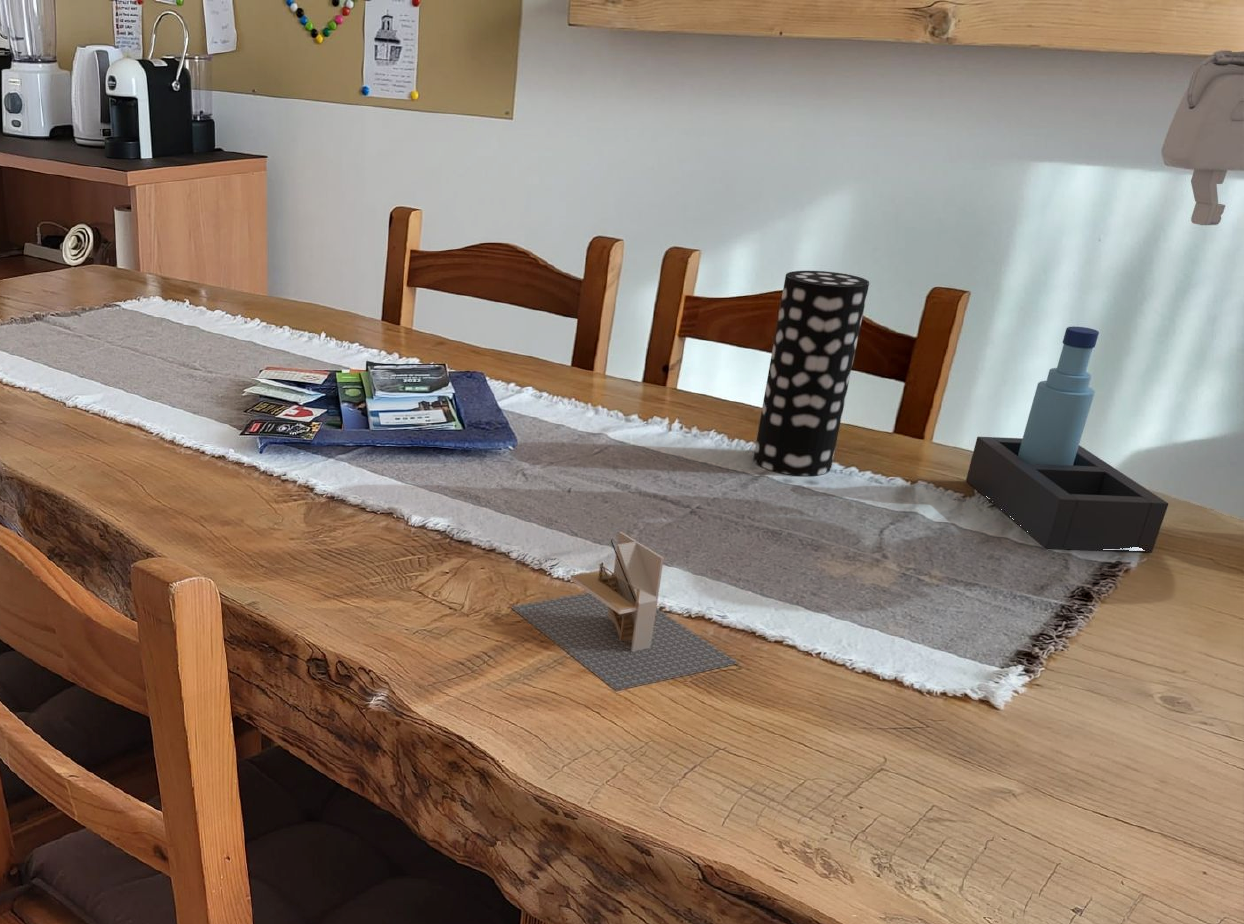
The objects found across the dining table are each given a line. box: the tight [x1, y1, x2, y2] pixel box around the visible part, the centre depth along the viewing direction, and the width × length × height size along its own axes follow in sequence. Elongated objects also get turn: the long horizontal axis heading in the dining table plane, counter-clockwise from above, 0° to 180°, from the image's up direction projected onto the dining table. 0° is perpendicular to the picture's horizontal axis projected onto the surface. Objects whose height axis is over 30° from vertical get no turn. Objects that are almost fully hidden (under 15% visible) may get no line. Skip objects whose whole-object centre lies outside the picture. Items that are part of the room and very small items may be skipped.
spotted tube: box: [752, 270, 870, 477], centre depth 134 cm, size 8×8×20 cm
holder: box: [965, 436, 1169, 554], centre depth 126 cm, size 10×19×5 cm, turn 0°
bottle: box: [1018, 326, 1100, 466], centre depth 127 cm, size 5×5×18 cm
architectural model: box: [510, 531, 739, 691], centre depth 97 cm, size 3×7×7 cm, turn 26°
